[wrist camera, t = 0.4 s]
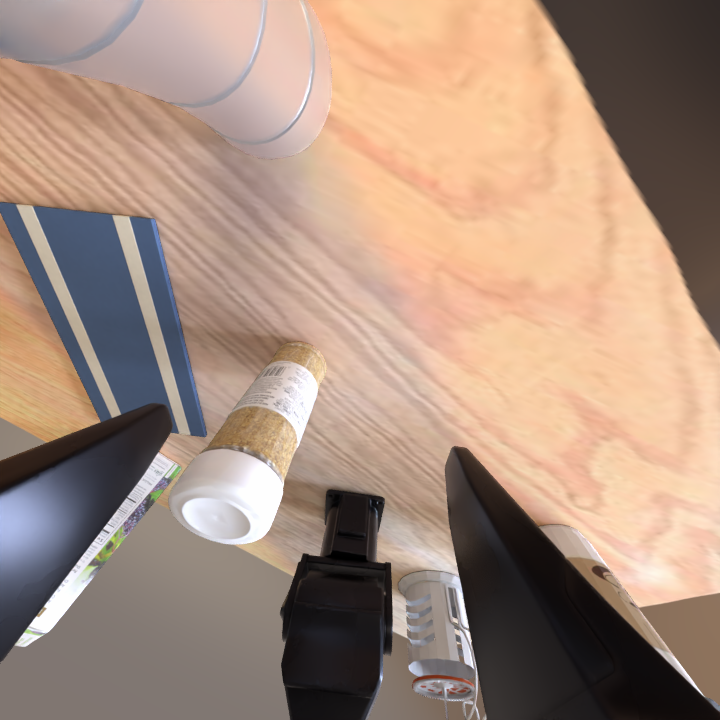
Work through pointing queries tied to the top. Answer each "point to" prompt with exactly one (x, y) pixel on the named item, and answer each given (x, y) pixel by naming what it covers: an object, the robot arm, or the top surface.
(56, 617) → the syrup box
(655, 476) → the top surface
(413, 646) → the french press
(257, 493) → the sprinkles bottle
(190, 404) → the tea towel
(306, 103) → the silver water bottle
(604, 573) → the coffee cup
